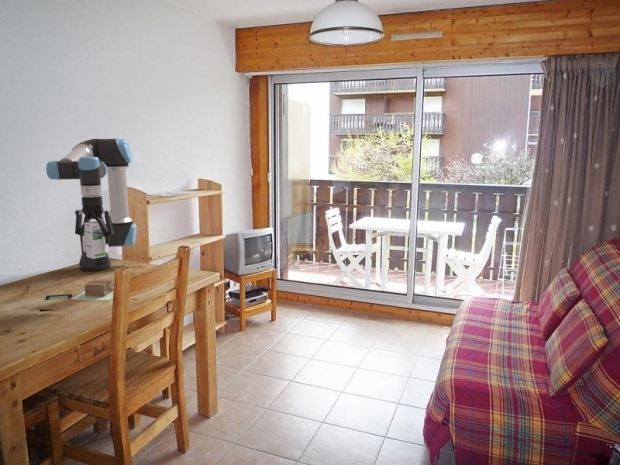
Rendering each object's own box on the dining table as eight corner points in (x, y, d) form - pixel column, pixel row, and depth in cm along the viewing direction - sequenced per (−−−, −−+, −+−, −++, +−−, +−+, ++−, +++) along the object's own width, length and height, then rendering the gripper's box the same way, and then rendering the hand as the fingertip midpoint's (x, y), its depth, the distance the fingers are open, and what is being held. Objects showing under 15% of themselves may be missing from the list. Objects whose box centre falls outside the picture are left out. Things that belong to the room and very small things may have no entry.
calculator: (39, 312, 183) (38, 304, 182) (47, 302, 194) (46, 295, 193) (66, 310, 185) (65, 302, 185) (72, 300, 196) (71, 293, 196)
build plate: (91, 290, 208) (90, 287, 208) (127, 291, 207) (126, 288, 207) (70, 302, 193) (70, 299, 192) (109, 303, 192) (109, 300, 191)
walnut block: (95, 290, 204) (94, 278, 203) (113, 290, 203) (112, 279, 202) (85, 296, 196) (84, 284, 195) (104, 296, 196) (103, 284, 195)
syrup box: (93, 259, 193) (90, 223, 190) (85, 256, 196) (83, 221, 193) (106, 256, 197) (104, 221, 194) (99, 254, 200) (96, 220, 198)
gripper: (61, 196, 189) (66, 253, 193) (112, 197, 188) (116, 254, 192) (71, 194, 196) (76, 248, 200) (121, 195, 195) (124, 249, 199)
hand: (96, 251), depth 196 cm, fingers closed on syrup box, 8 cm apart
